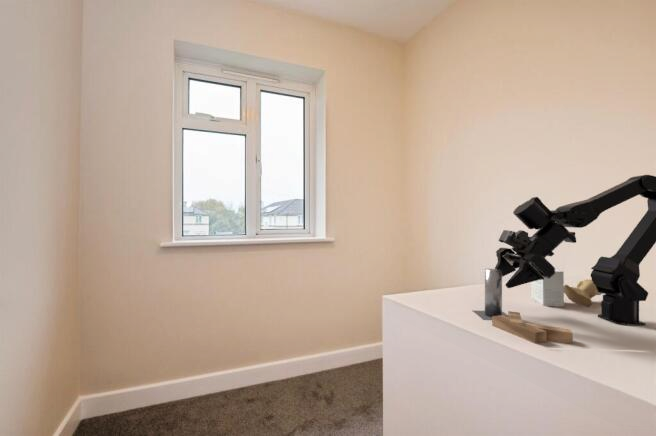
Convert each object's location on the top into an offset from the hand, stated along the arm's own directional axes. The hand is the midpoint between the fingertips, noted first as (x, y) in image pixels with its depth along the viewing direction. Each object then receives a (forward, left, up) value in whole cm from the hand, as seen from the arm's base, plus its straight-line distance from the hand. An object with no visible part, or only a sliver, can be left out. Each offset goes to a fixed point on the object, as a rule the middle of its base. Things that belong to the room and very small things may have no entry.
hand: (498, 283), depth 81 cm
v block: (-1, +12, -9) cm, 15 cm away
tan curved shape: (-34, -16, -9) cm, 39 cm away
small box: (-22, -15, -9) cm, 28 cm away
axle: (+1, 0, -9) cm, 9 cm away
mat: (+1, 0, -9) cm, 9 cm away
